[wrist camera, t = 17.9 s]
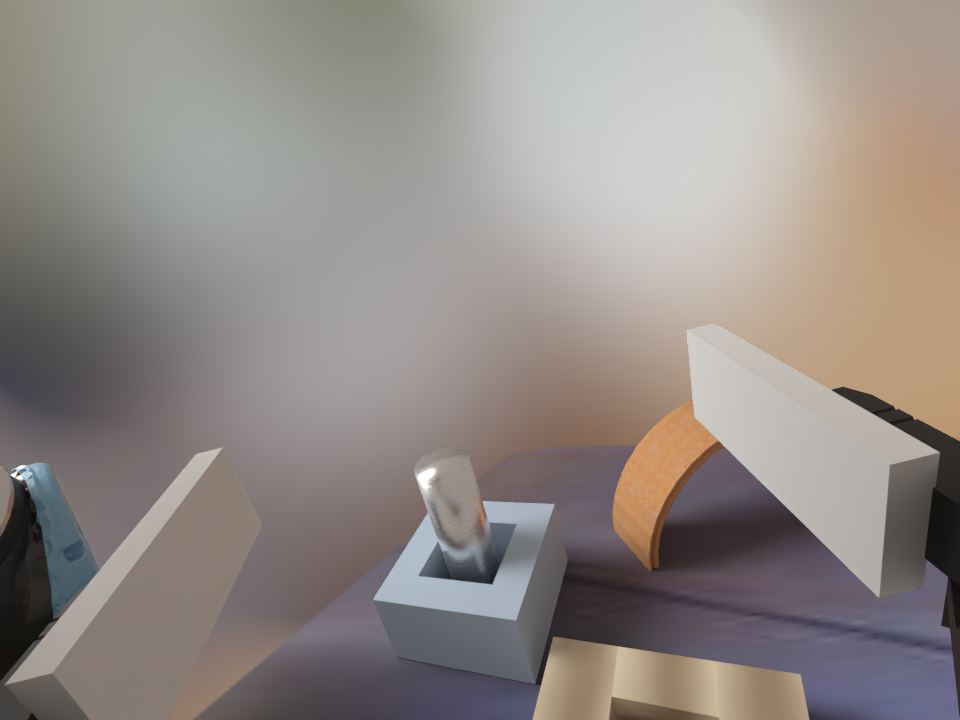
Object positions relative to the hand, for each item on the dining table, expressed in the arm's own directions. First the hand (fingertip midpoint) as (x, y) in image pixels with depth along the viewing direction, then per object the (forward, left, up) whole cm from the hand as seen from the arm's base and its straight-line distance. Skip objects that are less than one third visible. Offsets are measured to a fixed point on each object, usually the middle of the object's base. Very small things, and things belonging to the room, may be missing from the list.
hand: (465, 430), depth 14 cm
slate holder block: (-11, +15, -26) cm, 32 cm away
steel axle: (-11, +15, -26) cm, 32 cm away
